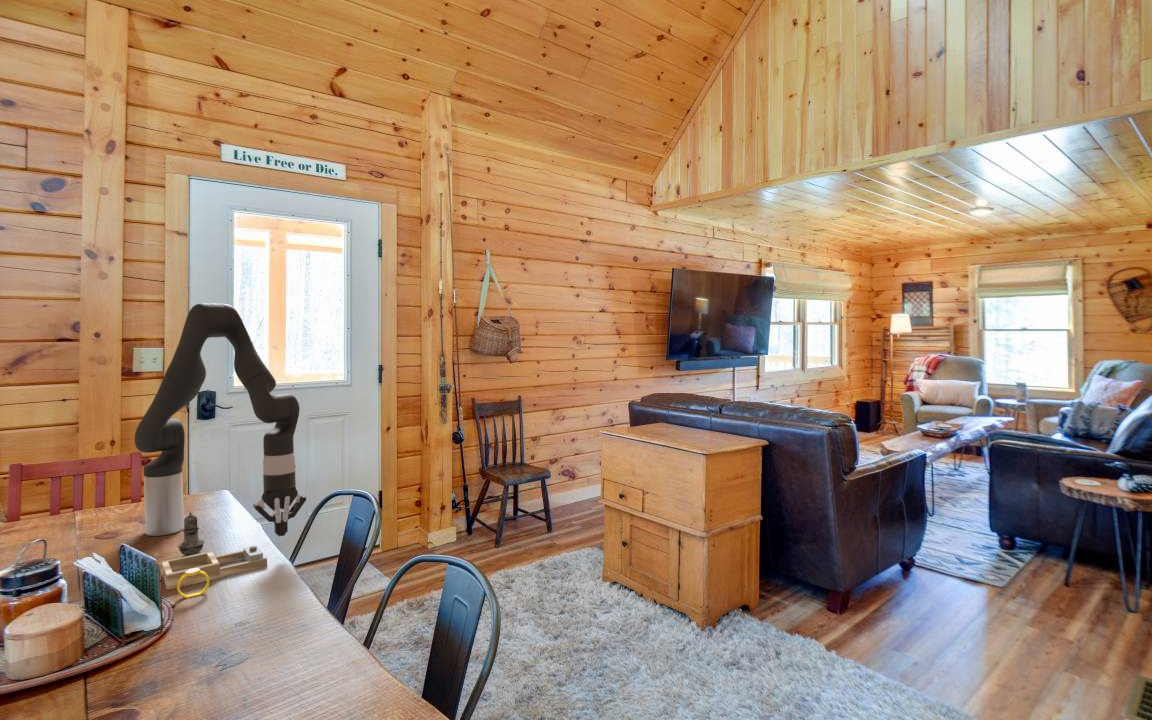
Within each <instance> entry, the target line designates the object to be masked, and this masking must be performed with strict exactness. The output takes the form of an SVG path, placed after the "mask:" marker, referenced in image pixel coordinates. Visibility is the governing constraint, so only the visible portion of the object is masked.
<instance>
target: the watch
mask: <svg viewBox="0 0 1152 720" xmlns="http://www.w3.org/2000/svg"><path fill="white" fill-rule="evenodd" d="M198 573H199V574H203V575H204V576H205V577H206V578H207V581H206V583H205V586H204V587H203V589H201V591H198V592H194V593H189V594H185V593H183V592H182V591H181V589H180V588H181V587H180V584H181V582H182V580H183V579H184V578H185V577H187V576H193V575H196V574H198ZM209 586H210V580H209V577H208V575H207V574H206V573H205V572H204V571H201V570H200V569H199V568H192V569H189V570H187V571H186V572H185V574H184V575H183V576H182V577H181V578H180V579H179V581H178V583H177V588H176V590H177V593H178V594H179V596H180V597H182V598H185V599H190V597H191V598H194V597H199V596H202V595H204V593H205V592H206V591H207V590H208V588H209Z"/></svg>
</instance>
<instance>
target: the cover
mask: <svg viewBox="0 0 1152 720" xmlns="http://www.w3.org/2000/svg"><path fill="white" fill-rule="evenodd" d="M243 550H244V559H243V560H244V562H247V561H251V560H256V559H260V558H264V553H263V551H262V550H261V549H260V547H259V546H258V545H256V544H255V545H251V546H247V547H243Z"/></svg>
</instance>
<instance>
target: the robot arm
mask: <svg viewBox="0 0 1152 720" xmlns="http://www.w3.org/2000/svg"><path fill="white" fill-rule="evenodd" d="M209 338H225V339H227V340H228V342H229V343H230V344H231V345H232V347H233V350H234V355H233V356H234V358H233V368H234V372H235V374H236V376H237V378H238V379H239V381H240V382H241V384H242V385H243V387H244V388H245V389H246V391H247V393H248V396H249V399H250V403H251V406H252V410H253V412H254V415H255V416H256V418H257V420H259V421H260V422H262V423H265V424H274V423H275V425H274V428H273V429H271V430H270V431H267V432H266V433H265V434H264V435H263V442H262V443H263V444H262V445H263V459H262V460H263V461H262V473H263V474H262V476H263V477H262V479H263V480H262V481H263V482H262V483H263V494H262V495H261V498H260V500H259V501H258V502H257V503H253V505H252V507H253V508H254V510H256V511H257V512H258V513H259V515H261V516H262V517H263V518H264V519H265V520H266V521H268V523H274V529H273V530H274V533H275V535H276V536H278V538H279V537H285V536H286V534H287V533H288V531H289V530H288V521H289V520H290V519H293V518H295V517H296V515H297V514H298V512H299V511H300V510H301V508H302V507H303V506H304V504H305V502H306V501H307V497H306V496H304V495H303V494H302V495H301V494H300V493H299V492H298V490H297V485H296V481H297V480H296V479H297V478H296V468H297V467H296V458H295V451H294V437H295V436H294V435H295V432H296V429H297V425H298V424H297V423H298V420H299V416H300V409H301V408H300V403H299V402H298V399H297V398H296V396H294V395H293V394H290V393H282V394H274V395H272V394H271V392H272V391H274V389H275V388H276V387H277V381H276V379H275V378H274V376H273V374H272V373H271V372H270V370H269V369H268V367H267V366H266V364H265V363H264V362H263V360H262V359H261V357H260V355H259V354H258V352H257V351H256V348H255V346H254V343H253V342H252V339H251V337H250V335H249V332H248V330H247V328H246V326H245V323H244V322H243V319H242V318H241V315H240V314H239V312H238V311H237V309H236V308H235V307H233V306H232V305H230V304H227V303H222V302H221V303H216V302H215V303H211V302H208V303H207V302H202V303H196V304H195V305H193V306H192V307H191V309H189V311H188V314H187V316H186V318H185V321H184V325H183V328H182V331H181V334H180V338H179V341H178V345H177V346H176V349H175V351H174V354H173V355H172V359H171V361H170V363H169V365H168V367H167V369H166V371H165V373H164V375H163V378H162V381H161V383H160V385H159V387H158V390H157V392H156V394H155V396H154V398H153V400H152V402H151V404H150V406H149V407H148V409H147V410H146V412H145V414H144V415H143V416H142V418H141V420H140V421H139V423H138V425H137V427H136V429H135V433H134V445H135V448H136V449H137V450H138V451H139V452H141V453H143V454H144V453H146V454H147V453H148V454H151V453H157V452H161V453H160V454H159V455H158V456H157V457H156V458H155V459H154V460H151V461H150V462H148V463H147V464H145V466H144V467H143V489H144V490H143V493H144V498H143V499H144V525H145V527H144V528H145V529H144V532H145V536H150V537H158V536H159V537H160V536H166V535H172V534H175V533H178V532H180V531H183V530H184V519H185V518H184V491H183V490H184V489H183V487H184V486H183V465H184V462H185V444H186V443H185V439H186V437H185V429H184V425H183V423H182V421H181V420H179V419H178V418H175V417H173V416H174V415H175V414H176V413H178V412H179V411H181V410H182V409H183V408H184V407H185V406H187V405H188V404H190V402H192V401H193V400H194V399H195V398H196V397H197V395H198V394H199V392H200V390H201V388H202V386H203V384H204V382H205V380H206V376H207V370H206V367H205V363H204V361H203V358H202V356H201V353H202V350H203V347H204V344H205V342H206V341H207V339H209ZM293 502H294V503H293ZM292 504H293V505H292ZM291 505H292V506H291ZM266 506H268V507H269V508H270V510H271V512H272V515H271V514H269V513H268V512H267V511H266V510H265V508H266Z"/></svg>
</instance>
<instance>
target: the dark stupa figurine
mask: <svg viewBox="0 0 1152 720" xmlns="http://www.w3.org/2000/svg"><path fill="white" fill-rule="evenodd" d="M183 519H184V528H183V529H182V532H183V533H184V534H183V535H184V536H183V541H182V542H180V543H179V544H178V545H177V548H178V551H179V552H180V553H181V554H182V556H180V557H179V558H181V557H185V556H190V555H195V554H200V553H201V551H202V549H203V548H204V544H205V542H206V541H205V540H203V539H200V537H199V530H200V528H199V527H198V517H197V516H196V515H193V513H192V512H191V511H190V512H189V515H187V516H186V517H184V518H183Z"/></svg>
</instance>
